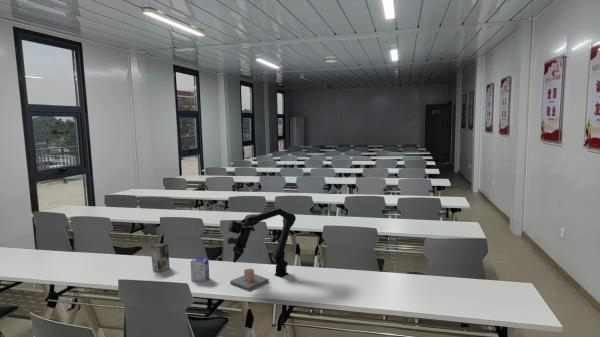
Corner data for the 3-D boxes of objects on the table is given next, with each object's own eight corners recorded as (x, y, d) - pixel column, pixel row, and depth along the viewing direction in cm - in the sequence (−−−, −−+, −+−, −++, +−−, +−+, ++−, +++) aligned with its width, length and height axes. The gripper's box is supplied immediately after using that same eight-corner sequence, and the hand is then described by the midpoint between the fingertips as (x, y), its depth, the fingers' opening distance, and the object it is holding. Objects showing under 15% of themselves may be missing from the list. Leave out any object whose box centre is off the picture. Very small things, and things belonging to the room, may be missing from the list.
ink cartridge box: (210, 278, 241) (208, 255, 239) (206, 281, 235) (204, 258, 234) (195, 277, 243) (193, 254, 241) (190, 280, 237) (189, 257, 236)
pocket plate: (250, 275, 243) (250, 272, 243) (268, 281, 232) (268, 278, 232) (230, 283, 231) (230, 280, 231) (248, 290, 220) (248, 287, 220)
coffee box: (164, 265, 264) (162, 242, 262) (169, 267, 260) (168, 244, 258) (152, 270, 256) (150, 246, 254) (157, 272, 253) (156, 247, 251)
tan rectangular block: (249, 281, 234) (249, 268, 234) (254, 282, 232) (253, 269, 231) (244, 283, 231) (244, 270, 231) (249, 284, 229) (248, 271, 228)
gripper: (233, 229, 240) (224, 253, 240) (229, 233, 222) (219, 259, 221) (250, 235, 241) (241, 259, 240) (247, 240, 222) (238, 266, 221)
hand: (234, 260), depth 230 cm, fingers open, 9 cm apart
